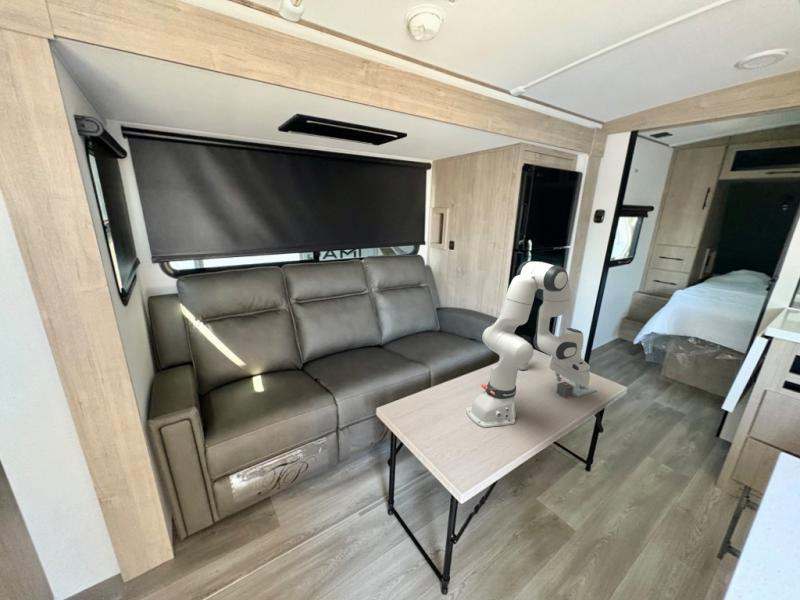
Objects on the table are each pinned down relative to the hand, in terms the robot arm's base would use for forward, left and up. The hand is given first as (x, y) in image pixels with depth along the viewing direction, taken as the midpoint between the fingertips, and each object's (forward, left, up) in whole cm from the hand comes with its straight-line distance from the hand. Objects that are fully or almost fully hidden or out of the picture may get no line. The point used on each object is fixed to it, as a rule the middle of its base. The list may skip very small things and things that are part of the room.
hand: (566, 385), depth 157 cm
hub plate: (+10, +2, -5) cm, 12 cm away
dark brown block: (-1, 0, -5) cm, 5 cm away
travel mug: (-1, +30, -5) cm, 30 cm away
